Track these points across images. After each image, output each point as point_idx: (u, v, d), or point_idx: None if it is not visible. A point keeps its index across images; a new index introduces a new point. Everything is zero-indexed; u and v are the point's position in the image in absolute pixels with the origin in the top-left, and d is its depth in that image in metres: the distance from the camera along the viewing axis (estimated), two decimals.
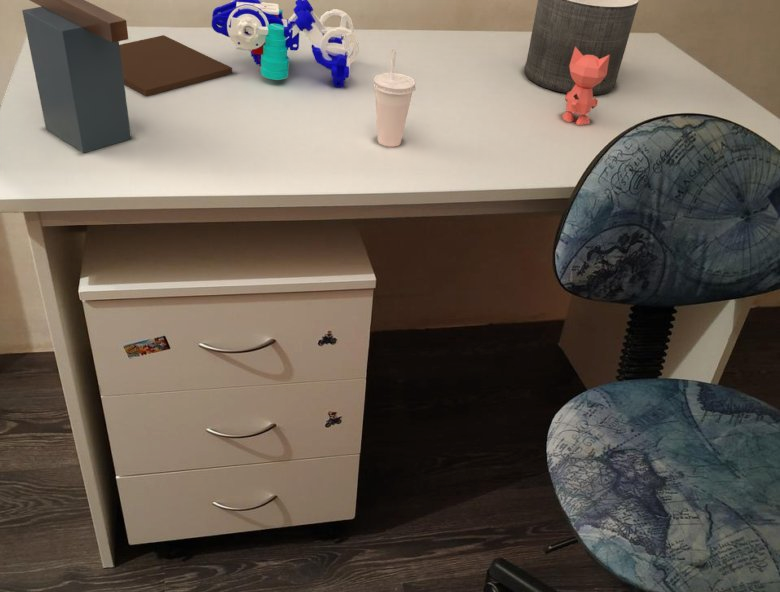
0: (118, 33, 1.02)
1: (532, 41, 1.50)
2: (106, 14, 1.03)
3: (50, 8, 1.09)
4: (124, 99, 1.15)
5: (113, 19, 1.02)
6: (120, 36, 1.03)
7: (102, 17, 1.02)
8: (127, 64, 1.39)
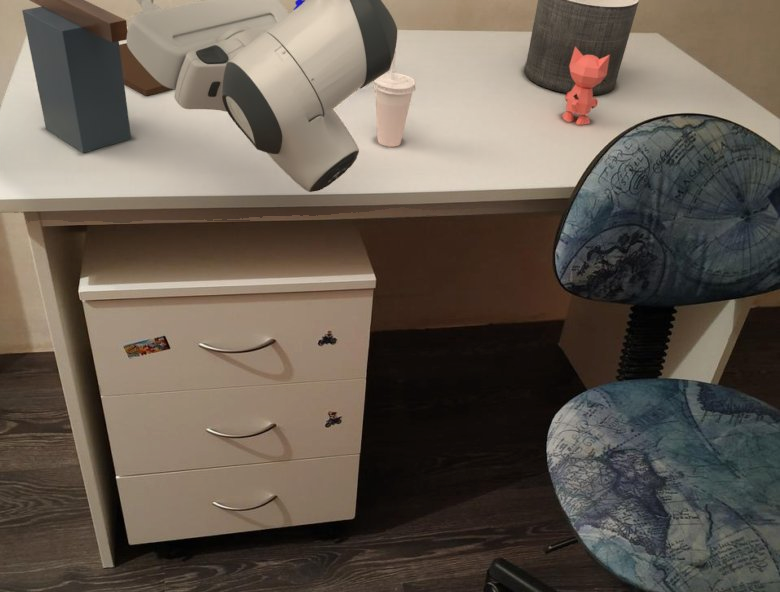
0: (118, 33, 1.02)
1: (532, 41, 1.50)
2: (106, 14, 1.03)
3: (50, 8, 1.09)
4: (124, 99, 1.15)
5: (113, 19, 1.02)
6: (120, 36, 1.03)
7: (102, 17, 1.02)
8: (127, 64, 1.39)
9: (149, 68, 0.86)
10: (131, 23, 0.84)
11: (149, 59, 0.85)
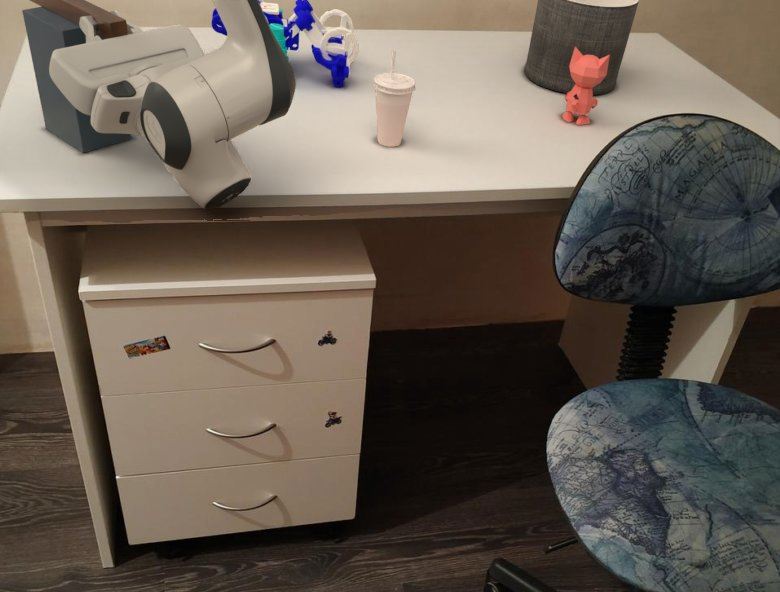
0: (118, 33, 1.02)
1: (532, 41, 1.50)
2: (106, 14, 1.03)
3: (50, 8, 1.09)
4: None
5: (113, 19, 1.02)
6: None
7: (102, 17, 1.02)
8: None
9: (68, 97, 0.99)
10: (52, 58, 0.97)
11: (67, 89, 0.98)
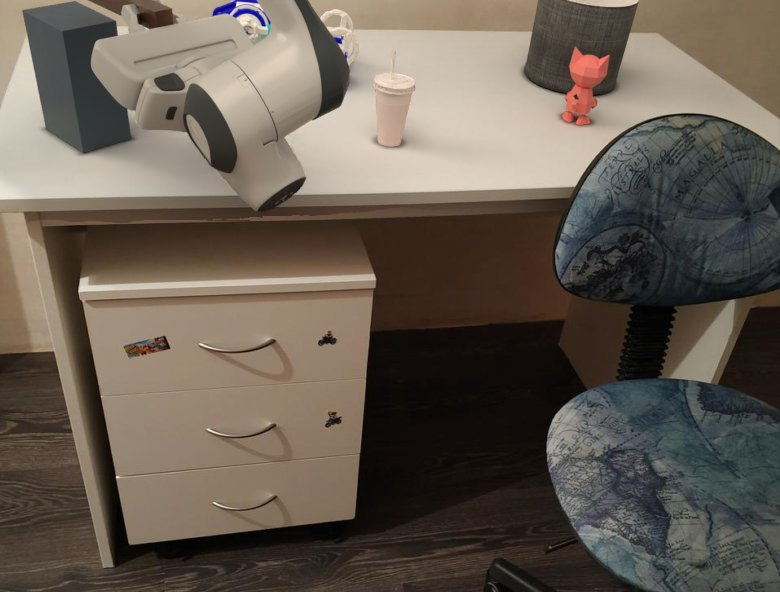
0: (164, 23, 0.95)
1: (532, 41, 1.50)
2: (150, 2, 0.96)
3: None
4: None
5: (158, 8, 0.95)
6: None
7: (146, 5, 0.95)
8: None
9: (111, 91, 0.92)
10: (95, 49, 0.89)
11: (111, 83, 0.91)
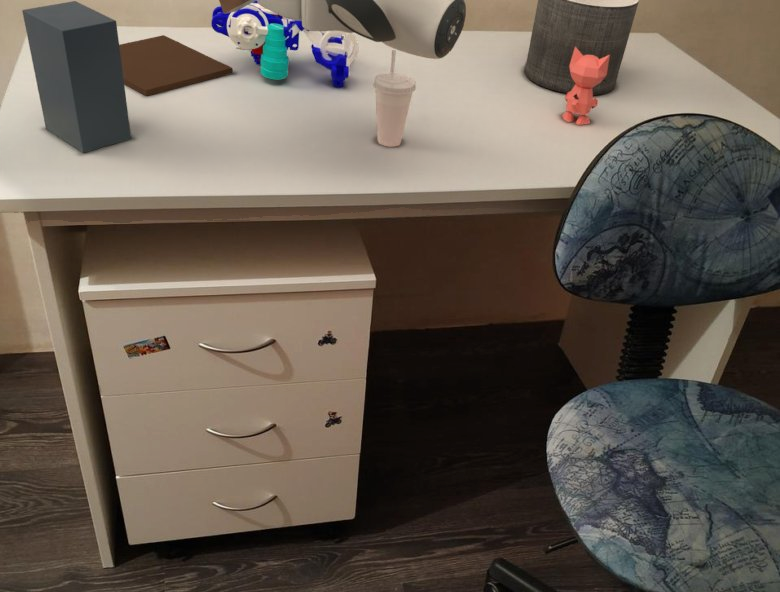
0: None
1: (532, 41, 1.50)
2: None
3: (242, 0, 1.17)
4: (124, 99, 1.15)
5: None
6: None
7: None
8: (127, 64, 1.39)
9: (277, 8, 1.01)
10: None
11: None
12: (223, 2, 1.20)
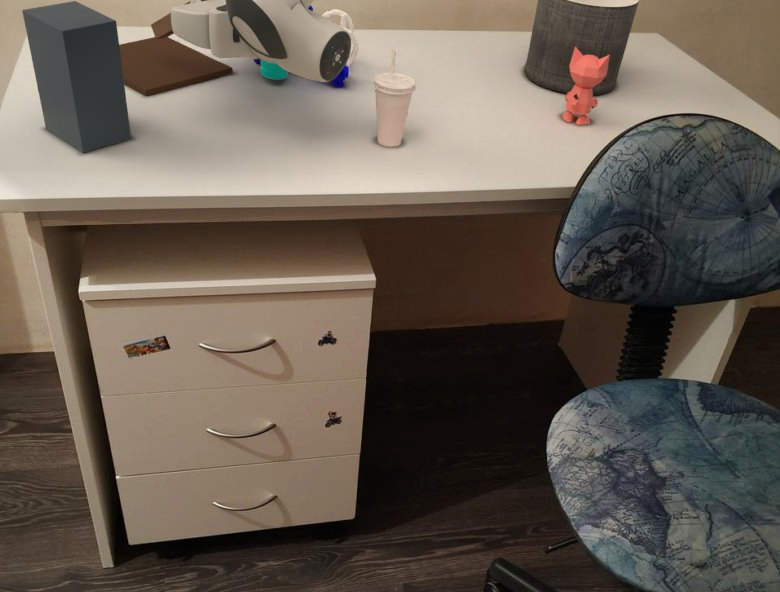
0: None
1: (532, 41, 1.50)
2: None
3: (170, 27, 1.32)
4: (124, 99, 1.15)
5: None
6: None
7: None
8: (127, 64, 1.39)
9: (190, 38, 1.16)
10: (171, 11, 1.16)
11: (188, 30, 1.15)
12: (155, 29, 1.35)
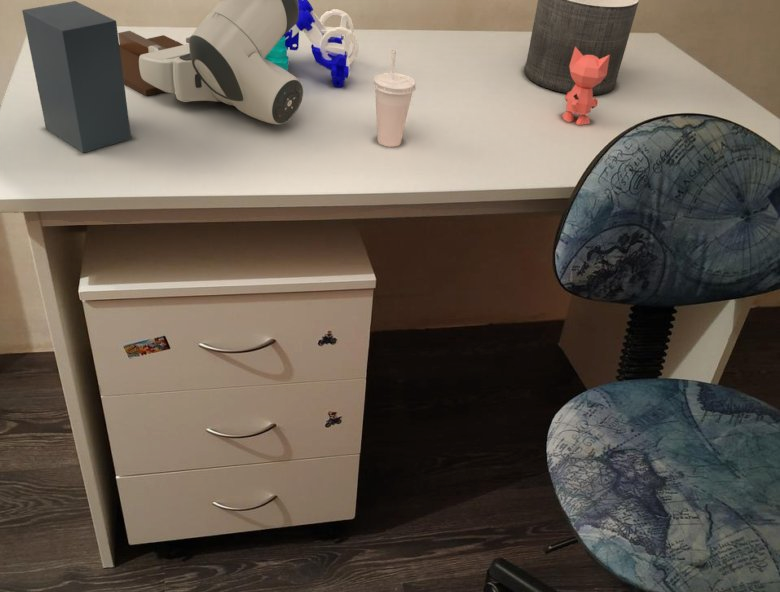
0: None
1: (532, 41, 1.50)
2: None
3: (137, 53, 1.42)
4: (124, 99, 1.15)
5: None
6: None
7: None
8: (127, 64, 1.39)
9: (156, 83, 1.27)
10: (139, 59, 1.27)
11: (154, 77, 1.26)
12: (121, 40, 1.43)
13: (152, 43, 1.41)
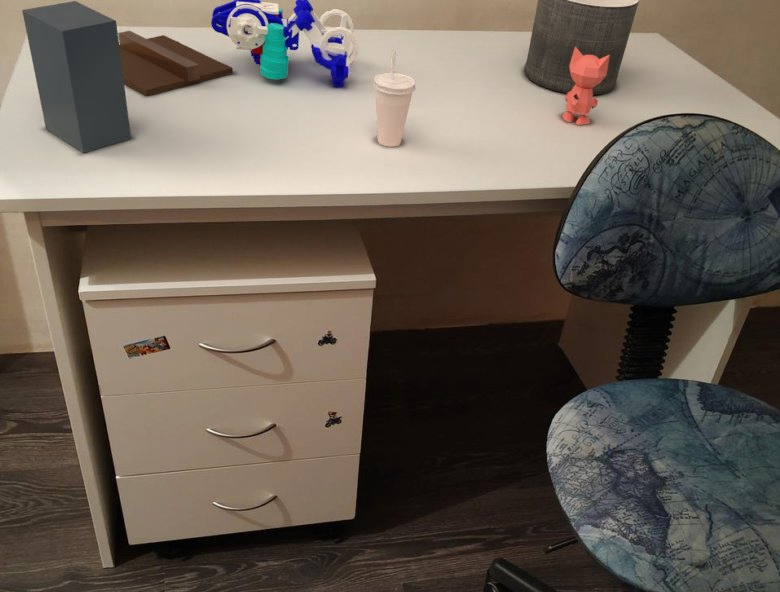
0: (193, 74, 1.35)
1: (532, 41, 1.50)
2: (183, 60, 1.36)
3: (137, 53, 1.42)
4: (124, 99, 1.15)
5: (189, 64, 1.35)
6: (194, 76, 1.36)
7: (181, 62, 1.35)
8: (127, 64, 1.39)
9: None
10: None
11: None
12: (121, 40, 1.43)
13: (152, 43, 1.41)
